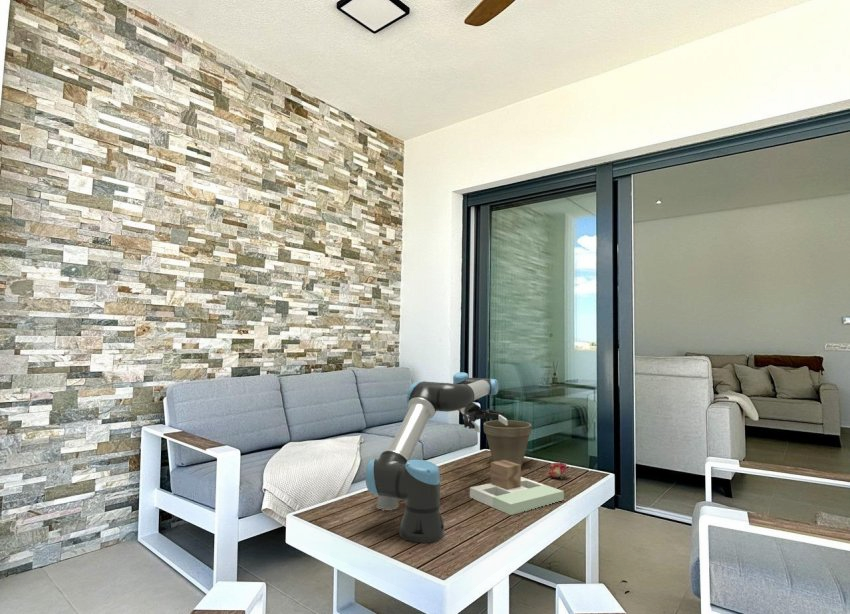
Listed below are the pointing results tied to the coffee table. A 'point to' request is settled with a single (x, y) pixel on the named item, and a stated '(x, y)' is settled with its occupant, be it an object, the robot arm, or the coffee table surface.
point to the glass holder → (387, 502)
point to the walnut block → (505, 474)
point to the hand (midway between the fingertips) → (493, 425)
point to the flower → (558, 470)
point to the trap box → (517, 496)
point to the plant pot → (507, 440)
